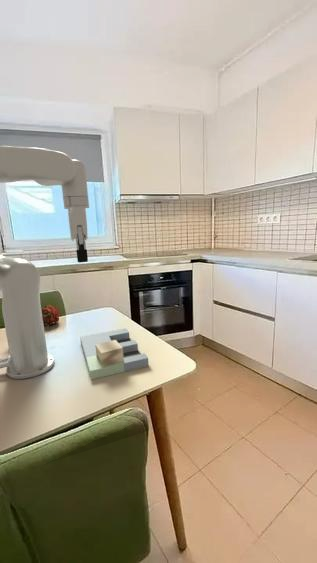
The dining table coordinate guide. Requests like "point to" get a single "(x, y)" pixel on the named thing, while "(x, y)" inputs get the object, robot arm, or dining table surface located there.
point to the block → (109, 353)
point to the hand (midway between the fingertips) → (82, 261)
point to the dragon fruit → (50, 314)
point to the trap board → (130, 363)
